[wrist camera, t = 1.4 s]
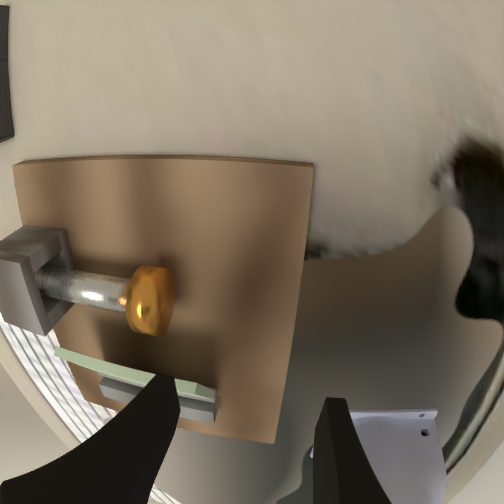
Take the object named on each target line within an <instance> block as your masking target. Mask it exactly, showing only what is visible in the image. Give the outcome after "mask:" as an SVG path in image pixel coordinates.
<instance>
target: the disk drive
mask: <svg viewBox="0 0 504 504" xmlns="http://www.w3.org/2000/svg"><path fill="white" fill-rule="evenodd" d="M8 18H9V6H3V5H0V142H2V141H5V140H7V139H10V138H12V137H14V128H13V121H12V112H11V102H10V89H9V74H8Z"/></svg>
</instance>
